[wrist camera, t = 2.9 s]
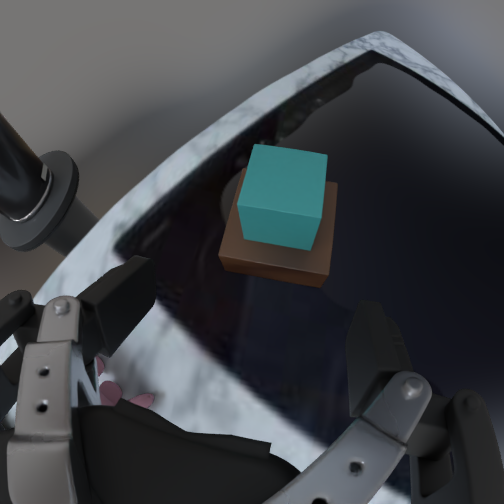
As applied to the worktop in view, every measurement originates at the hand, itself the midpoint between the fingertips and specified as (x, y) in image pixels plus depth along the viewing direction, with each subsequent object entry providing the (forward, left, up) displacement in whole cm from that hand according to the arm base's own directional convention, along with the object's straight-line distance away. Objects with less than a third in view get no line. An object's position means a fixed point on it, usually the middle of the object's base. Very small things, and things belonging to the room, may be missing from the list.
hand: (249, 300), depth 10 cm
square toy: (+4, +9, -11) cm, 15 cm away
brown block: (+4, +9, -15) cm, 18 cm away
